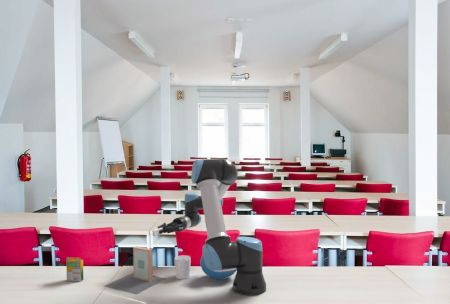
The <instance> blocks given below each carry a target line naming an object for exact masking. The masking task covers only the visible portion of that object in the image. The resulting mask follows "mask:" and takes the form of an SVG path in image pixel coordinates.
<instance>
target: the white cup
mask: <svg viewBox="0 0 450 304" xmlns="http://www.w3.org/2000/svg"><path fill="white" fill-rule="evenodd" d="M191 258H192V257H191V256H190V255H185V254H183V255H177V256H175V257H174V269H175V271H174V272H175V278H176V279H178V280H187V279H189V278H190V277H191V262H192V261H191Z"/></svg>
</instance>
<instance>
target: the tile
mask: <svg viewBox="0 0 450 304" xmlns="http://www.w3.org/2000/svg"><path fill="white" fill-rule="evenodd" d="M132 252H133V253H132V255H133V256H132V257H133V263H132V264H133V273H134V278H136V279H141V280H145V281H149V282H150V281H152V280H153V276H154V275H153V269H154V268H153V261H154V259H153V248H148V247H142V246H133V249H132Z"/></svg>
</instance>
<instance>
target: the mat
mask: <svg viewBox="0 0 450 304" xmlns="http://www.w3.org/2000/svg"><path fill="white" fill-rule="evenodd" d="M167 279H168V278H166V277H161V276H157V275H153V280H152V281H150V282H149V281H145V280H141V279H136V278H134V272H132V273H130V274H128V275H124V277H121V278H118V279H117V280H114V281H112V282H109V283H107V284H105V285H104V287H105V288H109V289H112V290H117V291H121V292H126V293H129V294H132V295H133V294H134V295H138V294H141V293H142V292H144V291H146V290H148V289H150V288H151V287H154V286H156V285H158V284H159V283H161V282H164V281H165V280H167Z"/></svg>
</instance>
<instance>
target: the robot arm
mask: <svg viewBox="0 0 450 304" xmlns="http://www.w3.org/2000/svg"><path fill="white" fill-rule="evenodd" d="M238 173H239V172H238V169H237V167H236V165H235V163H233V162H232V161H231V160H229V159H226V158H211V159H210V158H209V159H208V158H207V159H206V158H205V159H204V158H201V159H195V160H194V161H193V164H192V168H191V177H190V179H191V183H192V184H194V185H196V189H198V190H199V191H200V195H198V193H197V192H188V193H185V194H184V215H182V216H179V217H175V218H174V219H173V220H172V222H169V223H166V222H163V223H162V224H160V225H159V226H157V228H156V229H153V230H152V236H154V237H156V236H159V235H162V234H172V233H174V232H175V233H176V232H178V233H180V232H183V231H186V230H187V229H190V228H193V227H196V226H198V225H200V223H201V222H202V216H201V215H200V213H199V212H198V210H203V215H204V223H205V228H206V233H207V238H206V239H205V241H204V242H205V244H204V245H203V246H202V255H203V258H204V262H205V264H206V266H207V268H208V269H209V270H211V271H216V270H218V271H220V270H225V269H234V268H237V270H236V272H235V276H234V280H233V283H232V290H233V291H234V292H235V293H238V294H239V295H245V296H256V295H261V294H263V293H265V292H266V290H267V283H266V280H265V277H264V274H263V252H264V251H263V243H262V241H261V240H260V239H258V238H255V237H250V236H238V237H237V238H235V239H236V240H235V241H232V240H231V239H232V237H231V236H230V235H228V234H227V230H226V225H225V224H226V223H225V219H224V214H223V208H222V207H223V204H224V199H223V197H224V196H225V194H226V193H227V192H228V190H229V188H230V186H232V185H234V184H235V182H236V181H237V180H238Z"/></svg>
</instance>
